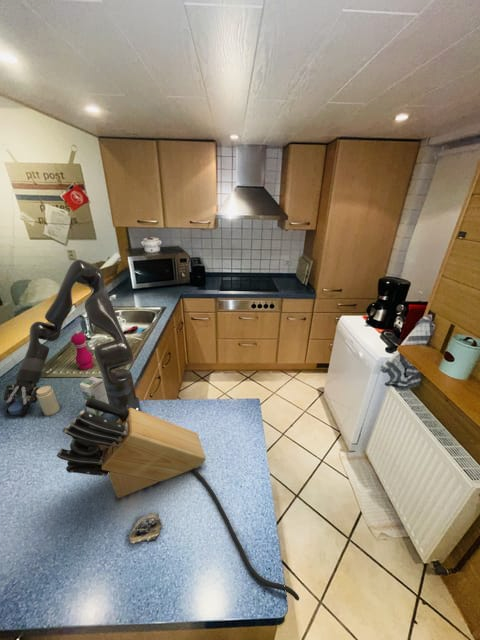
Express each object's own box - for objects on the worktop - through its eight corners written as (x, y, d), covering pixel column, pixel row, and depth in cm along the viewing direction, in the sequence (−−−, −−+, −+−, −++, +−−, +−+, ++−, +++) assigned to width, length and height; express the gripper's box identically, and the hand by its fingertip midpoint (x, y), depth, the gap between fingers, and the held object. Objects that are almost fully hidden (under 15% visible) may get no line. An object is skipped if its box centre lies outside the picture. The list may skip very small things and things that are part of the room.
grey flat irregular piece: (165, 533, 63) (164, 529, 62) (132, 555, 59) (130, 551, 58) (157, 508, 68) (156, 504, 67) (126, 527, 64) (125, 523, 63)
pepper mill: (87, 371, 123) (76, 335, 114) (74, 369, 124) (63, 333, 116) (97, 363, 129) (88, 328, 121) (85, 361, 130) (75, 327, 122)
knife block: (84, 476, 76) (53, 397, 63) (197, 438, 89) (191, 366, 76) (78, 514, 67) (41, 432, 53) (206, 466, 79) (201, 389, 66)
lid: (13, 406, 99) (11, 402, 99) (30, 402, 101) (29, 399, 100) (7, 416, 95) (5, 412, 94) (25, 412, 96) (23, 409, 96)
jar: (62, 408, 101) (54, 387, 96) (49, 417, 96) (40, 395, 92) (54, 404, 103) (46, 383, 98) (40, 412, 98) (31, 391, 94)
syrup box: (87, 413, 98) (78, 384, 92) (100, 403, 103) (92, 375, 97) (98, 418, 96) (89, 388, 90) (110, 407, 101) (102, 378, 95)
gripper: (54, 372, 105) (39, 415, 99) (23, 369, 106) (7, 412, 101) (39, 370, 98) (23, 416, 92) (6, 367, 99) (-12, 412, 93)
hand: (15, 413), depth 96 cm, fingers closed on lid, 5 cm apart
